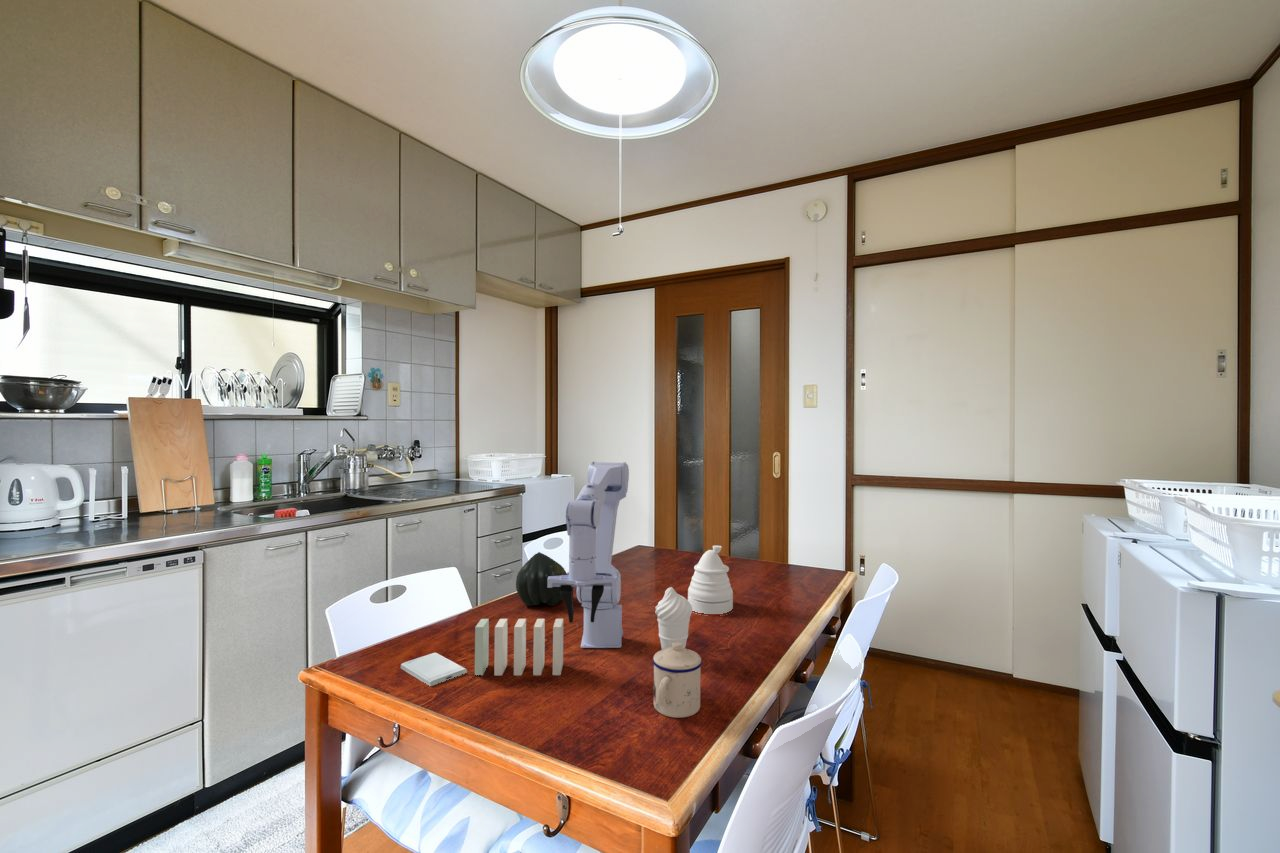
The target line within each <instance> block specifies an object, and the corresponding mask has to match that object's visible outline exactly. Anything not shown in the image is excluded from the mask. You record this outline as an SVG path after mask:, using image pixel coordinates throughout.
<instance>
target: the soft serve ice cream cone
mask: <svg viewBox="0 0 1280 853" xmlns="http://www.w3.org/2000/svg"><path fill="white" fill-rule="evenodd" d="M654 613H655V615H656V616H657V623H658V637H659V642H660V647H661V650H663V649H666V648H669V647H672V644H673V643H674V642H680V643H682V645H683V647H684V648H686V646H687V641H688V640H687V639H688V638H689V627H690V626H689V625H690V622H691V619H690V618H691V616H692V613H693V612H692V606H691V604H690V602H689V601H688V598H686V597H685V596H683V595H680V594H679V593H678V592H677V591H676V590H675V589H674V588H673V587H672V586H670V587H668V588H667V589H666V590H665V591H664V595H663V598H662V599H661V600H659V601H658V603H657V605H656V606H655V611H654Z"/></svg>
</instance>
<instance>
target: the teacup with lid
mask: <svg viewBox="0 0 1280 853" xmlns="http://www.w3.org/2000/svg"><path fill="white" fill-rule="evenodd" d="M652 663H653V707H654V709H655V710H656V711H657V712H658V713H659V714H661V715H662V716H665V717H670V718H675V719H677V718H679V719H680V718H681V719H682V718H688V717H691V716H693V715H695V714H696V713H698V712H699V711H700V708H701V667H702V665H703V660H702V657H701V656H700V654H699V653H697V652H696V651H694V650H692V649H688V648H686V647H685V648H684V647H683V645H682V643H680V642H674V643H673V644H672V647H669V648H666V649H663V650H662V649H660V650H658V651H657V652H655V654H654V655H653V658H652Z"/></svg>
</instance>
